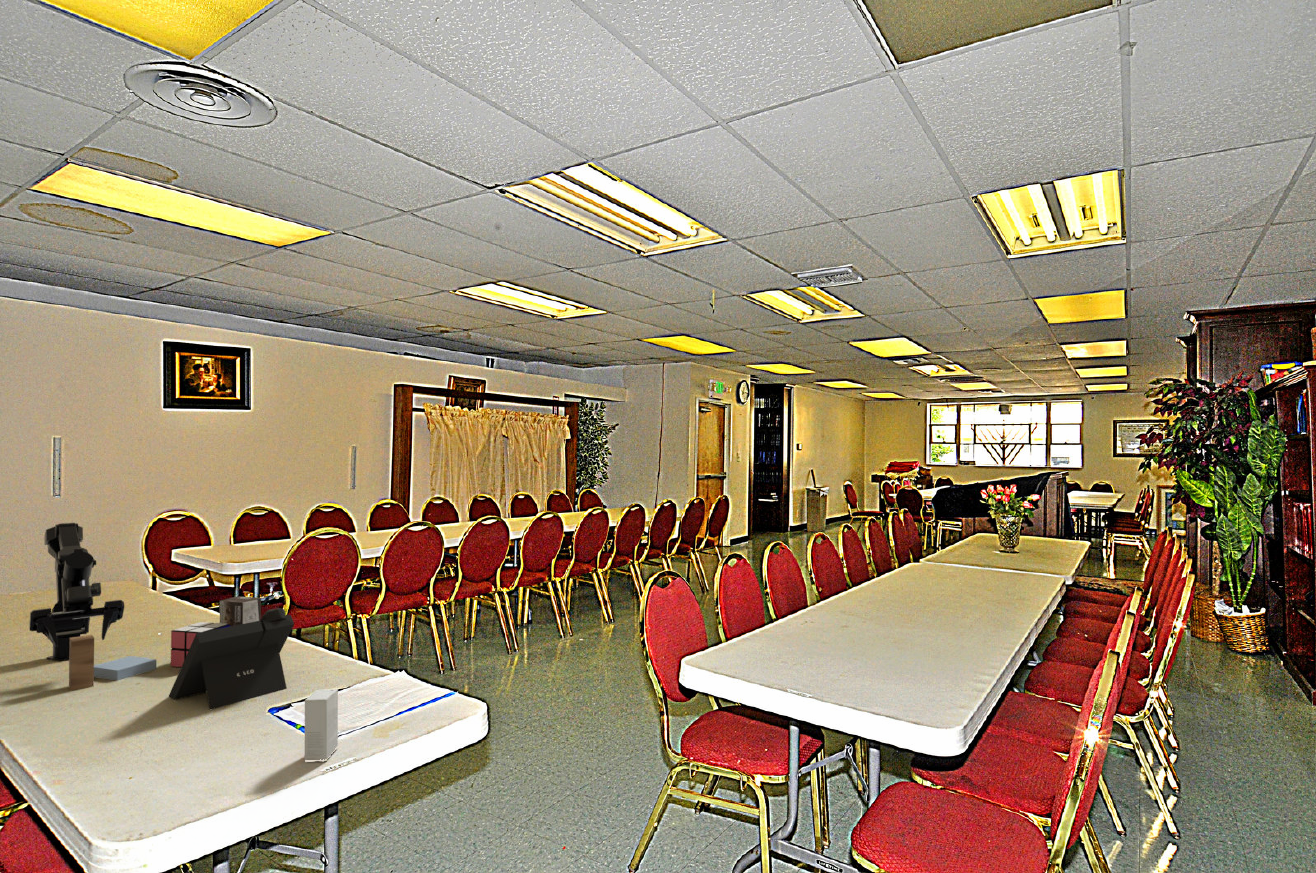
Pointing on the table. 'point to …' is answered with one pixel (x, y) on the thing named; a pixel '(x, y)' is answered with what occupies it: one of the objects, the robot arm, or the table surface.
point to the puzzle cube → (188, 639)
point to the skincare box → (321, 724)
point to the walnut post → (81, 662)
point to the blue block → (124, 667)
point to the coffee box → (240, 610)
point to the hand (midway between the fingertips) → (80, 642)
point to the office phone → (236, 661)
